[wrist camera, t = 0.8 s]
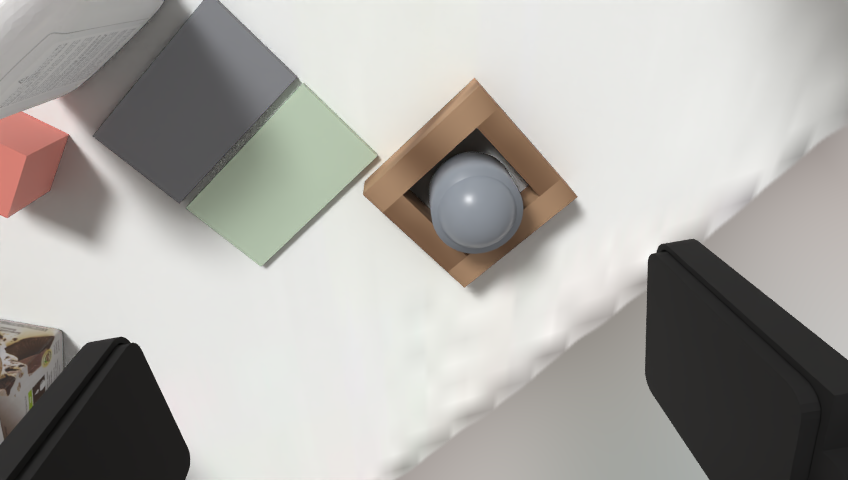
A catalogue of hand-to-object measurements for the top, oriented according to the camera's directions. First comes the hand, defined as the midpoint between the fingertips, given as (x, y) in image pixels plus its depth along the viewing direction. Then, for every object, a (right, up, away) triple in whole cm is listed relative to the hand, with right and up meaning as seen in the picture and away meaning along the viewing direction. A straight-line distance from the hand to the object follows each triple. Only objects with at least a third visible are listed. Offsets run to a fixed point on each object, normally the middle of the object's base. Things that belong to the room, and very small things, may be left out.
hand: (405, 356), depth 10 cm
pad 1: (-14, +11, +24) cm, 30 cm away
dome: (+3, +5, +26) cm, 27 cm away
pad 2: (-9, +6, +27) cm, 29 cm away
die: (-26, +8, +25) cm, 37 cm away
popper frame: (+3, +6, +27) cm, 28 cm away
